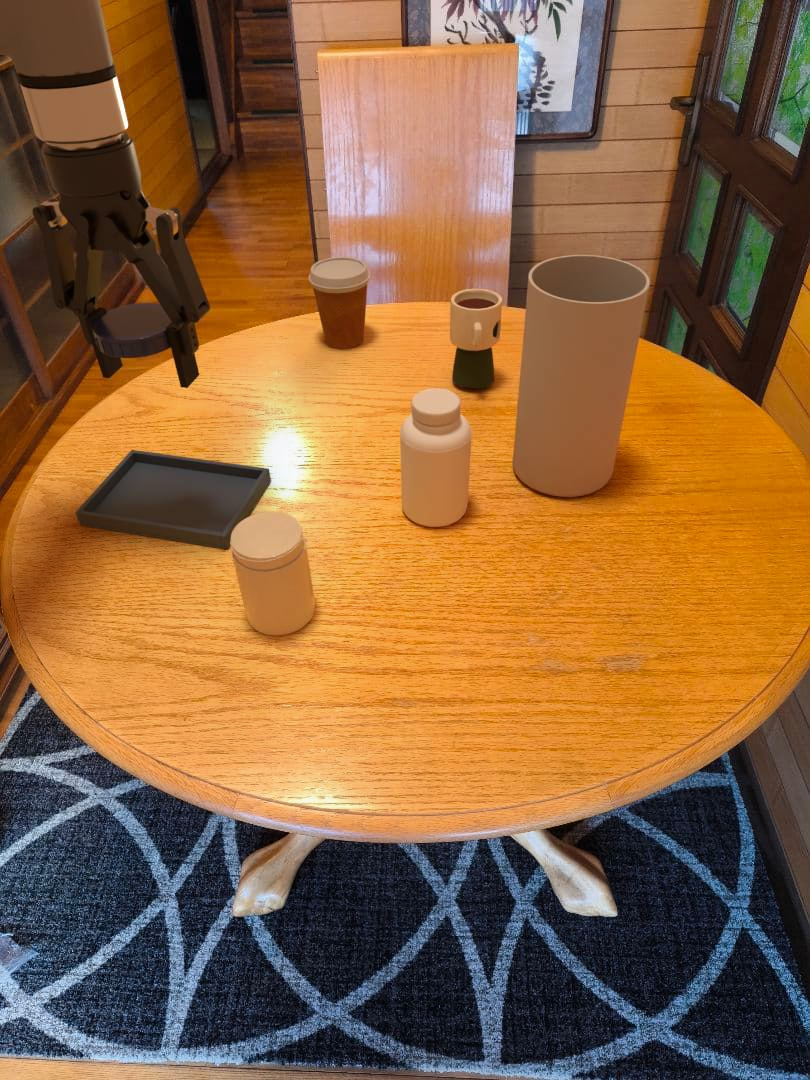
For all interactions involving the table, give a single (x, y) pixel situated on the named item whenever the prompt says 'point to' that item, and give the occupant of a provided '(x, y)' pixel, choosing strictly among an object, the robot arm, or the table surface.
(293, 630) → the jar
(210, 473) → the tray
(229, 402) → the table surface
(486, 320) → the character mug
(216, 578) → the table surface
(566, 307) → the cylinder vase
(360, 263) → the disposable coffee cup
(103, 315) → the lid
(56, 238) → the robot arm
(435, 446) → the pill bottle
